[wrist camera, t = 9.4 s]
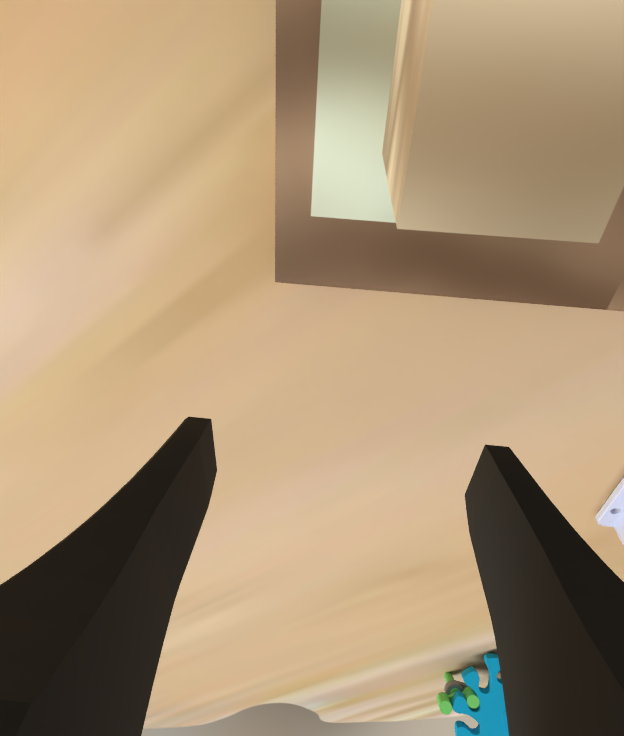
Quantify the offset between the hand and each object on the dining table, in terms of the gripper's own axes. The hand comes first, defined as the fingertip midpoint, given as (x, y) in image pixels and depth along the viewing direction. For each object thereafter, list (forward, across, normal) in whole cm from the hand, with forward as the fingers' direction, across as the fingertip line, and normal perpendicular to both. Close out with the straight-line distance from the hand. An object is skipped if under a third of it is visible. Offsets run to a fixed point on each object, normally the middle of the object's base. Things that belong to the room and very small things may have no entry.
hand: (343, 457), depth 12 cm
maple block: (+8, -2, -8) cm, 11 cm away
